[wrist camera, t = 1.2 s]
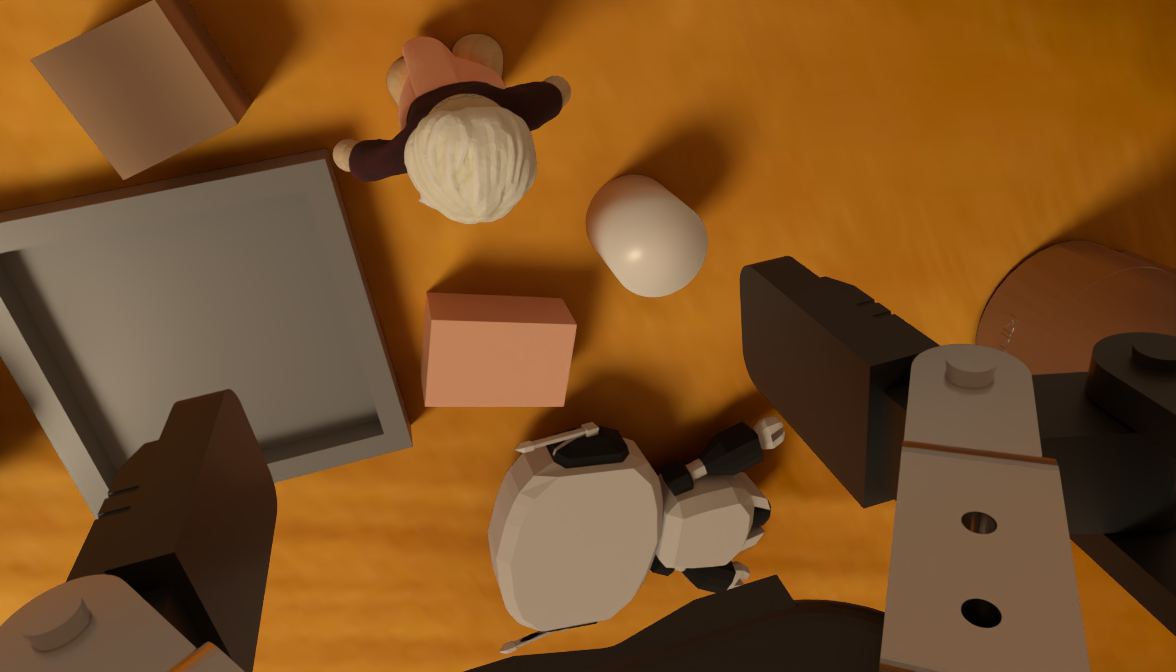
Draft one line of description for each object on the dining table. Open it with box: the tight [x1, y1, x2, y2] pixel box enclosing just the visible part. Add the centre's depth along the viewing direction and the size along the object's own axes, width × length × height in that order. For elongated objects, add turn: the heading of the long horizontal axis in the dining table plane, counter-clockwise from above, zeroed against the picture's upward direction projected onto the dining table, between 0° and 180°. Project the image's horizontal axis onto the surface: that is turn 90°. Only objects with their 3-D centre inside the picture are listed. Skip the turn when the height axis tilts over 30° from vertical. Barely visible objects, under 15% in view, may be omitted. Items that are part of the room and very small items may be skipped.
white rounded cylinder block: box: [586, 174, 708, 297], centre depth 32 cm, size 4×4×4 cm
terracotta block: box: [420, 292, 577, 407], centre depth 33 cm, size 6×4×3 cm, turn 81°
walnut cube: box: [30, 0, 253, 180], centre depth 25 cm, size 4×4×4 cm
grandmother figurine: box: [333, 34, 571, 224], centre depth 24 cm, size 8×4×13 cm, turn 116°
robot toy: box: [488, 416, 785, 654], centre depth 39 cm, size 12×4×15 cm
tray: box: [0, 148, 413, 520], centre depth 31 cm, size 13×13×2 cm
